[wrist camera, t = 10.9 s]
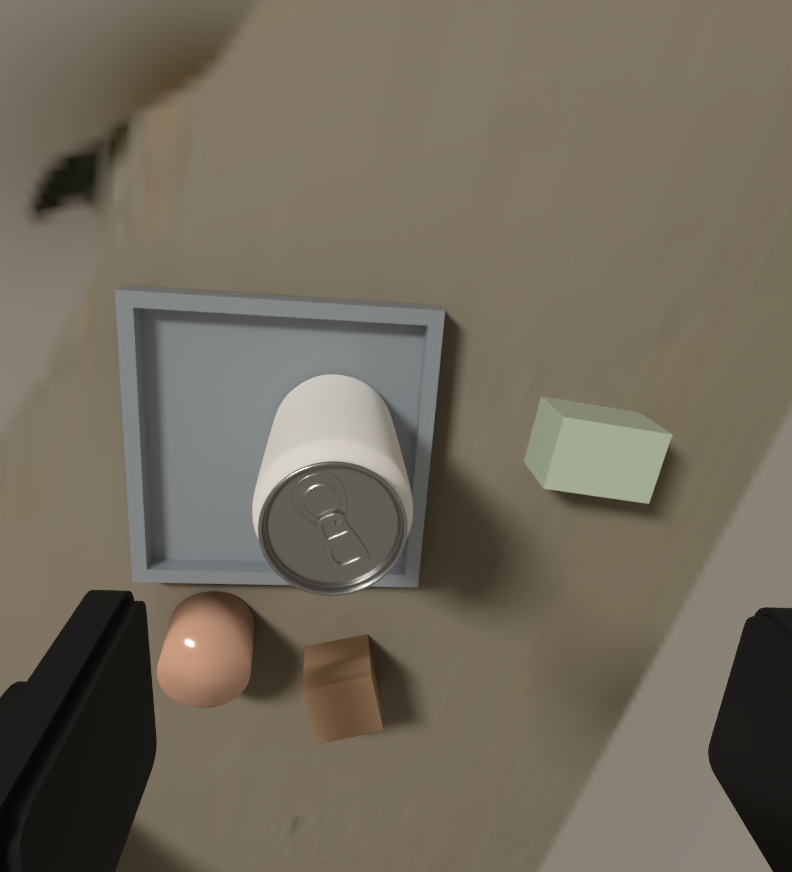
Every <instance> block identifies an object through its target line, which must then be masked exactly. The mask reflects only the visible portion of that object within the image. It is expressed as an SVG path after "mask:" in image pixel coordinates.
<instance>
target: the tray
mask: <svg viewBox="0 0 792 872" xmlns="http://www.w3.org/2000/svg"><path fill="white" fill-rule="evenodd" d="M115 300H116V317H117V333H118V350H119V367H120V383H121V400H122V416H123V433H124V449H125V466H126V482H127V499H128V515H129V532H130V548H131V565H132V582H145V583H200V584H255V585H290V584H289V583H287V582H286V581H284V580H283V579H282V578H281V577H280V576H278V575H277V574H276V573H275V572H274V570H273V569H272V568H271V567H270V565H269V564H268V562H267V561H266V559H265V557H264V555H263V553H262V550H261V547H260V543H259V540H258V538H257V535H256V532H255V529H254V524H253V517H252V504H253V497H254V491H255V487H256V483H257V479H258V475H259V471H260V468H261V464H262V460H263V457H264V453H265V449H266V446H267V442H268V439H269V435H270V432H271V428H272V425H273V422H274V418H275V415H276V413H277V410H278V408H279V406H280V404H281V403H282V401H283V400H284V398H285V397H286V396H287V395H288V394H289V393H290V392H291V391H292V390H293V389H294V388H296V387H297V386H298V385H300V384H301V383H303V382H305V381H307V380H309V379H311V378H314V377H316V376H320V375H327V374H335V375H344V376H349V377H352V378H355V379H357V380H360V381H362V382H364V383H365V384H367V385H368V386H370V387H371V388H372V389H374V390H375V391H376V392H377V393H378V394H379V396H380V397H381V398H382V399H383V401H384V402H385V404H386V406H387V408H388V410H389V412H390V415H391V418H392V421H393V425H394V428H395V432H396V435H397V439H398V442H399V446H400V450H401V453H402V457H403V461H404V465H405V468H406V472H407V476H408V480H409V484H410V488H411V493H412V499H413V519H412V524H411V528H410V532H409V534H408V537H407V539H406V543H405V547H404V550H403V552H402V554H401V556H400V558H399V560H398V561H397V563H396V564H395V566H394V567H393V568H392V569H391V571H390V572H389V573H388V574H387V575H386V576H384V577H383V578H382V579H381V580H379V581H378V582H377V583H375V584H373V585H372V586H370V587H418V582H419V571H420V561H421V551H422V541H423V531H424V521H425V511H426V501H427V491H428V480H429V470H430V460H431V450H432V440H433V430H434V420H435V410H436V399H437V389H438V379H439V369H440V359H441V349H442V339H443V329H444V319H445V310H444V309H443V308H442V307H441V306H438V305H422V304H407V303H391V302H376V301H360V300H345V299H329V298H314V297H298V296H283V295H267V294H252V293H236V292H221V291H205V290H190V289H174V288H159V287H143V286H128V285H126V286H123V287H121V288H118V289H115Z"/></svg>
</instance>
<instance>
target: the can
mask: <svg viewBox="0 0 792 872" xmlns="http://www.w3.org/2000/svg"><path fill="white" fill-rule="evenodd" d="M252 517H253V524H254V529H255V532H256V535H257V538H258V540H259V543H260V547H261V550H262V553H263V555H264V557H265V559H266V561H267V562H268V564H269V565H270V567H271V568H272V569H273V570H274V572H275V573H276V574H277V575H278V576H280V577H281V578H282V579H283V580H284V581H286V582H287V583H289V584H290V585H292V586H294V587H296V588H298V589H300V590H303V591H305V592H309V593H312V594H317V595H324V596H339V595H346V594H351V593H355V592H358V591H361V590H363V589H366V588H368V587H370V586H372V585H373V584H375V583H377V582H378V581H379V580H381V579H382V578H383V577H384V576H386V575H387V574H388V573H389V572H390V571H391V569H392V568H393V567H394V566H395V564H396V563H397V561H398V560H399V558H400V556H401V554H402V552H403V550H404V547H405V543H406V539H407V537H408V534H409V532H410V528H411V524H412V519H413V499H412V493H411V488H410V484H409V480H408V476H407V472H406V468H405V465H404V461H403V457H402V453H401V450H400V446H399V442H398V439H397V435H396V432H395V428H394V425H393V421H392V418H391V415H390V412H389V410H388V408H387V406H386V404H385V402H384V401H383V399H382V398H381V397H380V396H379V394H378V393H377V392H376V391H375V390H374V389H372V388H371V387H370V386H368V385H367V384H365V383H364V382H362V381H360V380H357V379H355V378H352V377H349V376H344V375H335V374H327V375H320V376H316V377H314V378H311V379H309V380H307V381H305V382H303V383H301V384H300V385H298V386H297V387H296V388H294V389H293V390H292V391H291V392H290V393H289V394H288V395H287V396H286V397H285V398H284V400H283V401H282V403H281V404H280V406H279V408H278V410H277V413H276V415H275V418H274V422H273V425H272V428H271V432H270V435H269V439H268V442H267V446H266V449H265V453H264V457H263V460H262V464H261V468H260V471H259V475H258V479H257V483H256V487H255V491H254V497H253V504H252Z"/></svg>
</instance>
